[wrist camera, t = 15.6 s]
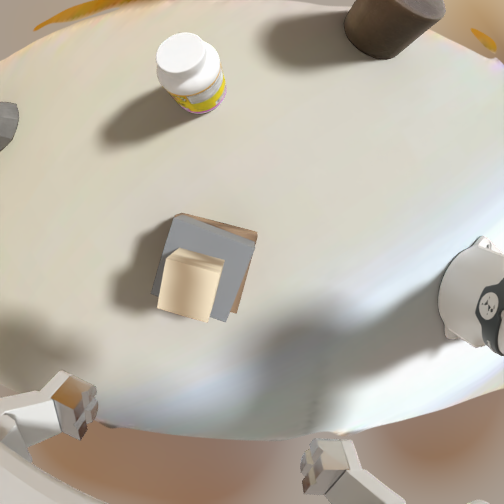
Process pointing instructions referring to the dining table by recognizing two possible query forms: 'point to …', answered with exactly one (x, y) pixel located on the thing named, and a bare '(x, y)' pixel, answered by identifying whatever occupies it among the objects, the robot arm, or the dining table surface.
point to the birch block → (190, 284)
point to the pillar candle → (390, 24)
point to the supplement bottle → (191, 72)
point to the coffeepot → (8, 122)
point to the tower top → (212, 244)
